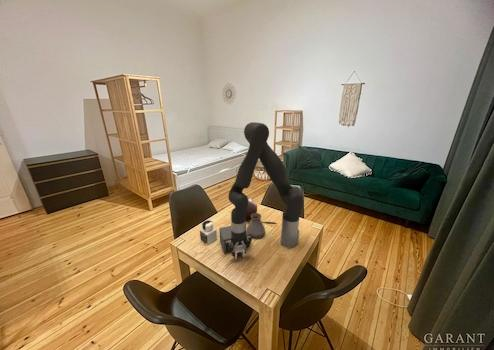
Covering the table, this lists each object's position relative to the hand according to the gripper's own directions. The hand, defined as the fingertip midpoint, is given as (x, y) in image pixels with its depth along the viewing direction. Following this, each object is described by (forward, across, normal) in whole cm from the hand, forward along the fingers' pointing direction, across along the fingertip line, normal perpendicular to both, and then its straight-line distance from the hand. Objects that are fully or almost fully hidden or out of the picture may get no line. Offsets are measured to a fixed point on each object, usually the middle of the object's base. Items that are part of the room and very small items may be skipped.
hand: (239, 254), depth 107 cm
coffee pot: (+2, -18, -12) cm, 22 cm away
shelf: (+2, 0, -10) cm, 11 cm away
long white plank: (+1, 0, -6) cm, 6 cm away
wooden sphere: (+2, -16, -35) cm, 39 cm away
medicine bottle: (+2, +13, -20) cm, 24 cm away
